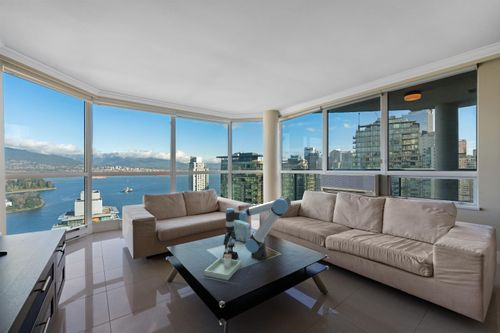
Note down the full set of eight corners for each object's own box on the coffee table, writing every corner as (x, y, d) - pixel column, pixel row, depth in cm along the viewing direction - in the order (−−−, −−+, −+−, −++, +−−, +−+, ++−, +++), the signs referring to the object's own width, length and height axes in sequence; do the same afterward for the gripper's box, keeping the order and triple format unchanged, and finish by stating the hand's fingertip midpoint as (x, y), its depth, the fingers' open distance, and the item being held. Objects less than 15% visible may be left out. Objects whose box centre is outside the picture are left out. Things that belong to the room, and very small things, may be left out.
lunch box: (229, 237, 244) (228, 219, 244) (235, 235, 251) (235, 217, 251) (244, 243, 225) (244, 223, 225) (251, 241, 232) (251, 221, 232)
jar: (233, 264, 175) (232, 254, 175) (229, 268, 169) (229, 257, 169) (226, 263, 177) (226, 253, 177) (222, 267, 171) (222, 256, 171)
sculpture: (233, 262, 182) (233, 245, 182) (222, 258, 189) (221, 242, 189) (239, 258, 189) (238, 242, 189) (227, 255, 196) (227, 239, 196)
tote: (241, 266, 174) (241, 260, 174) (227, 281, 152) (227, 275, 152) (220, 262, 181) (220, 257, 181) (204, 276, 159) (204, 270, 159)
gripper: (232, 221, 202) (232, 243, 202) (219, 229, 178) (219, 254, 179) (239, 222, 199) (239, 244, 199) (227, 230, 176) (227, 255, 176)
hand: (230, 249), depth 189 cm, fingers open, 13 cm apart
